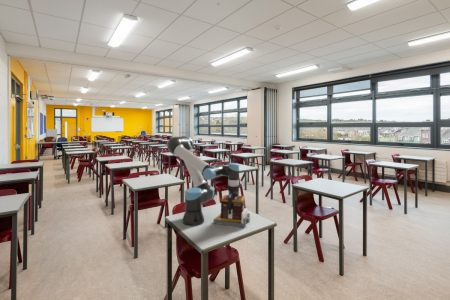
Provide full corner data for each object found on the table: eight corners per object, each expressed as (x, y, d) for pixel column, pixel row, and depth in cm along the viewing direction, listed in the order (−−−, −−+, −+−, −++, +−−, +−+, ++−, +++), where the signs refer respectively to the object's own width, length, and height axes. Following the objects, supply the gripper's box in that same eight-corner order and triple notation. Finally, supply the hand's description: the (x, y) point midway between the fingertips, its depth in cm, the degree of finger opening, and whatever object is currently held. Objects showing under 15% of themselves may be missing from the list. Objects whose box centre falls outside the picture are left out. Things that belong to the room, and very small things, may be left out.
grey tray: (213, 222, 172) (213, 214, 171) (220, 216, 184) (220, 208, 183) (244, 228, 163) (244, 219, 163) (249, 221, 175) (249, 213, 174)
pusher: (241, 225, 165) (241, 213, 164) (246, 220, 175) (246, 207, 174) (247, 226, 163) (248, 214, 162) (252, 221, 173) (252, 208, 173)
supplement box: (242, 222, 166) (242, 200, 164) (220, 220, 169) (220, 198, 168) (244, 216, 176) (244, 196, 175) (223, 215, 180) (224, 194, 178)
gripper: (232, 189, 158) (232, 222, 160) (243, 182, 180) (243, 210, 182) (222, 188, 161) (221, 220, 163) (234, 181, 182) (233, 209, 185)
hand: (233, 215), depth 172 cm, fingers closed on supplement box, 11 cm apart
